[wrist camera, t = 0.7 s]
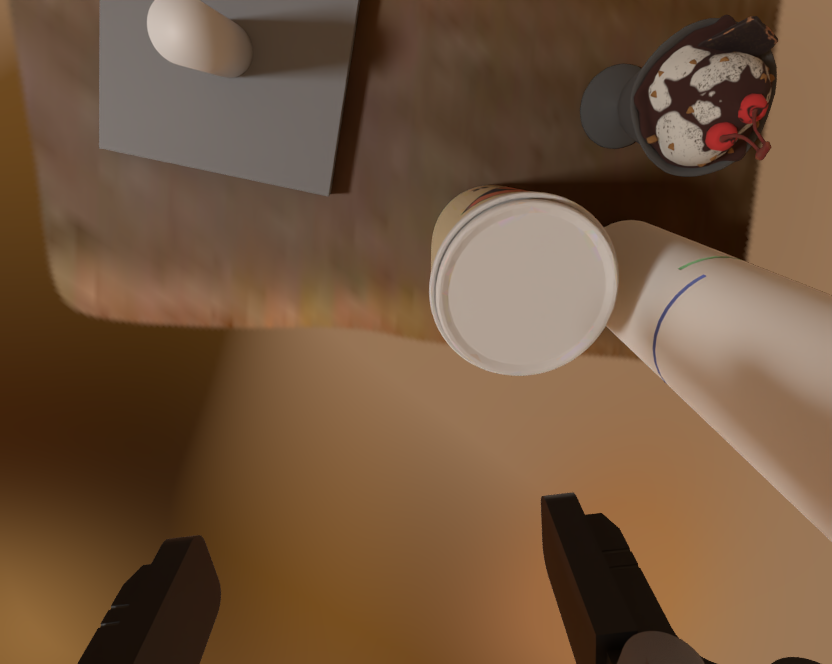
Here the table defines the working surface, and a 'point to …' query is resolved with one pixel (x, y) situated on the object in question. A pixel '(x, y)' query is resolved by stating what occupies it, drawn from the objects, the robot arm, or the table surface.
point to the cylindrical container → (735, 353)
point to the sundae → (689, 98)
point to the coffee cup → (520, 279)
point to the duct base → (228, 85)
